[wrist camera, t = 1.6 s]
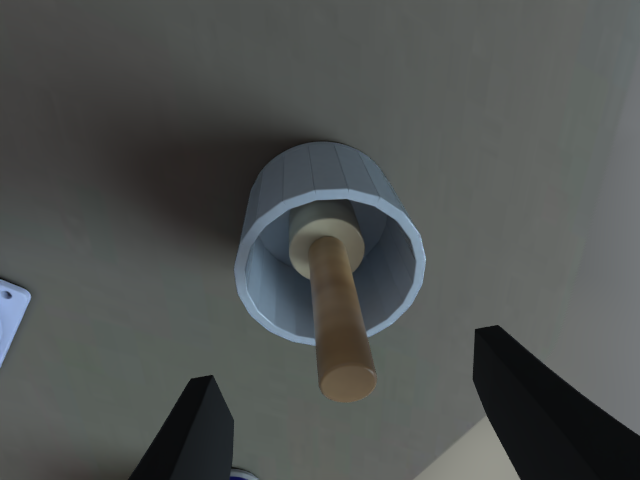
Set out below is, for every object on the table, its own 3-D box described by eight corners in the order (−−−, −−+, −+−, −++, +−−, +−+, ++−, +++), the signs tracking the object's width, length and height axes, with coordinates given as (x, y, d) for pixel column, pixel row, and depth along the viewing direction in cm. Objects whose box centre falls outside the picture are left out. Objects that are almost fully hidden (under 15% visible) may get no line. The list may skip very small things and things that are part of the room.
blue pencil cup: (221, 230, 20) (200, 300, 15) (301, 109, 17) (306, 147, 12) (336, 291, 22) (348, 367, 17) (421, 193, 19) (464, 253, 15)
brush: (276, 227, 19) (266, 399, 11) (313, 175, 18) (336, 323, 9) (329, 257, 20) (358, 434, 12) (368, 210, 19) (431, 370, 11)
